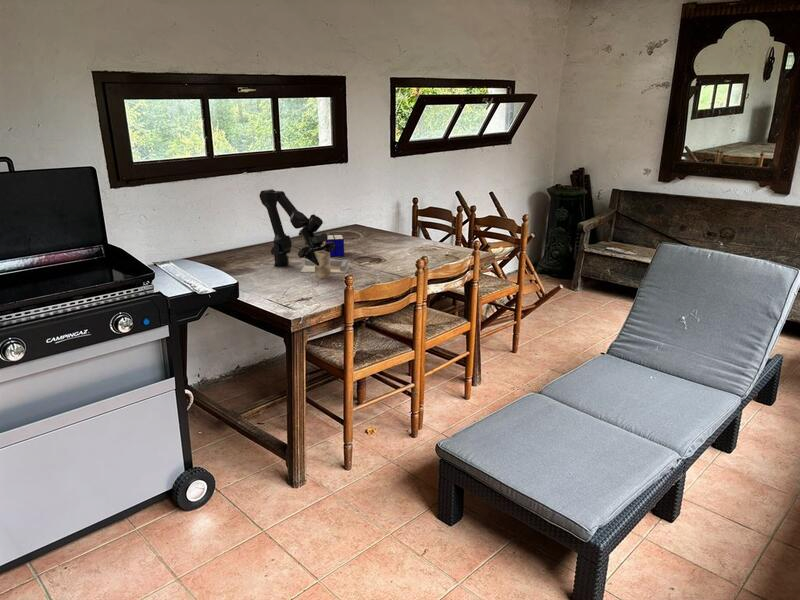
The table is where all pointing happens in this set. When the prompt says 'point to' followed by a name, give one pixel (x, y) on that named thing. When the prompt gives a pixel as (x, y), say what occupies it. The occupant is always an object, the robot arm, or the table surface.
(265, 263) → the table surface
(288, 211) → the robot arm
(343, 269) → the tray
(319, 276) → the birch block
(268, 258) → the table surface
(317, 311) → the table surface
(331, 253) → the puzzle cube
